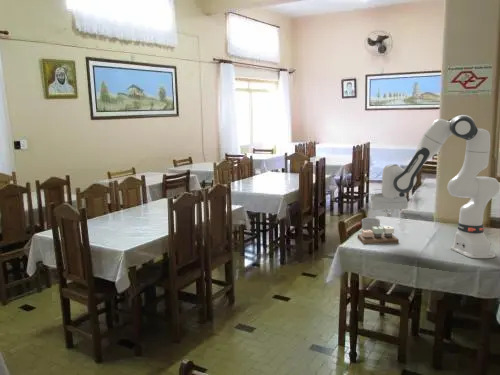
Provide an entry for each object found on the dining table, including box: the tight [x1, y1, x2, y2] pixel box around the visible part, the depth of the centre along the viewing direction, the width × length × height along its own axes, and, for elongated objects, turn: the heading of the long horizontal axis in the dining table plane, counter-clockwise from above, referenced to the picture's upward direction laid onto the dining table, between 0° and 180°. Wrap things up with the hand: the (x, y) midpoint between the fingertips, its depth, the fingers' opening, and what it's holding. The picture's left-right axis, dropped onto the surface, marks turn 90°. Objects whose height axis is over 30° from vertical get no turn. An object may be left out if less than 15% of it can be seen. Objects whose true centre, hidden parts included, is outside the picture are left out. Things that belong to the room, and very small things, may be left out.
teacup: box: [361, 217, 381, 231], centre depth 269 cm, size 14×11×8 cm
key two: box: [372, 225, 384, 237], centre depth 252 cm, size 5×5×5 cm
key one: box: [382, 225, 395, 237], centre depth 252 cm, size 5×5×5 cm
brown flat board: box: [357, 233, 400, 245], centre depth 252 cm, size 12×20×2 cm, turn 91°
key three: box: [361, 229, 374, 238], centre depth 252 cm, size 5×5×5 cm
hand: (388, 216), depth 250 cm, fingers closed
